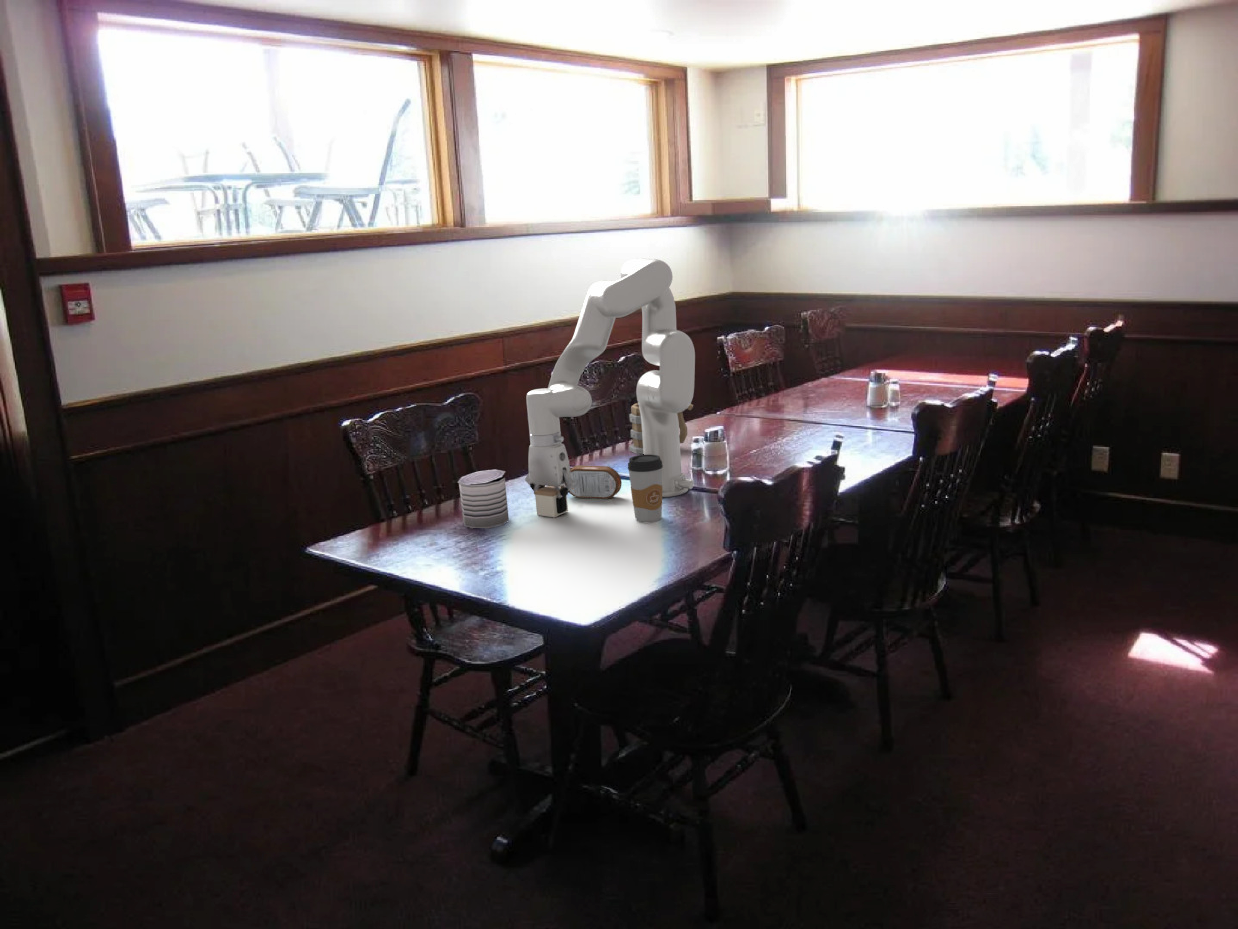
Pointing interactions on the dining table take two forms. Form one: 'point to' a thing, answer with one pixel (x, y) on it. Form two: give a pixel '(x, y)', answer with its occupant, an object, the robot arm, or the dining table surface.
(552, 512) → the cream block
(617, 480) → the tin
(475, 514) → the can
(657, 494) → the coffee cup
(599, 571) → the dining table surface
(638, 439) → the tankard
